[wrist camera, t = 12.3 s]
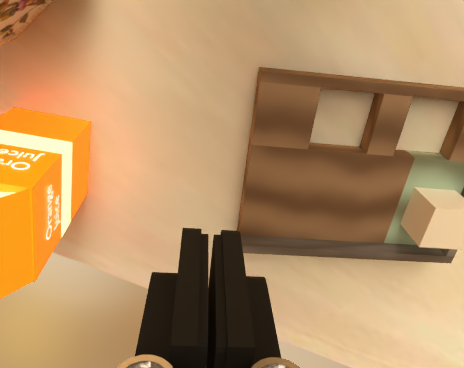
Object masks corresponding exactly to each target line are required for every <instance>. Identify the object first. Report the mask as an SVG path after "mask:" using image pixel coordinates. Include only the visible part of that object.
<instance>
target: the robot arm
mask: <svg viewBox="0 0 464 368" xmlns="http://www.w3.org/2000/svg"><path fill="white" fill-rule="evenodd" d="M116 368H300V367H299V366H297V365H296V364H294V363H292V362H290V361H289V360H286V359H282V358H281V355H280V349H279V344H278V339H277V334H276V329H275V324H274V319H273V314H272V308H271V303H270V298H269V293H268V288H267V283H266V279H265V278H264V277H250V276H246V273H245V265H244V257H243V249H242V242H241V234H240V231H230V230H221V235H214V238H213V248H212V258H211V267H210V277H209V287H208V234H201V229H194V228H183V231H182V240H181V249H180V259H179V268H178V273H159V272H152V275H151V279H150V284H149V289H148V294H147V299H146V304H145V309H144V314H143V319H142V324H141V329H140V334H139V339H138V344H137V349H136V354H135V357H131V358H129V359H128V360H126V361H124V362H122V363H121V364H120V365H119V366H118V367H116Z"/></svg>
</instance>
